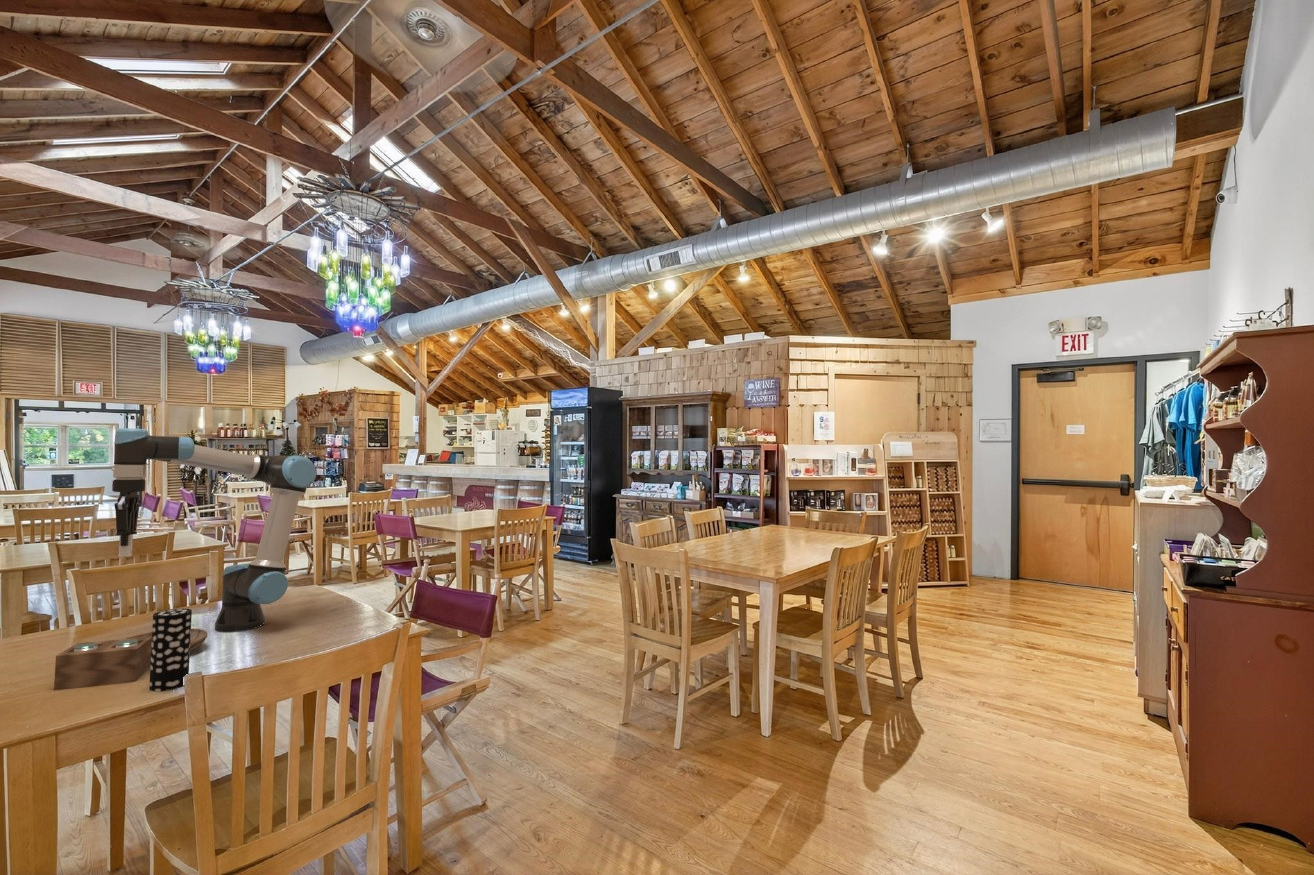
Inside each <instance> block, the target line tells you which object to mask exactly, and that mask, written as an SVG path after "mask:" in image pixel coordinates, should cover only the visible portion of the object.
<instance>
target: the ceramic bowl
mask: <svg viewBox="0 0 1314 875" xmlns="http://www.w3.org/2000/svg"><path fill="white" fill-rule="evenodd" d="M145 637H152V631H150V632H146V633H141V634H136V635H133V636H130V637H126V638H125V639H133V638H145ZM207 638H208V631H207V630H205V629H202V628H191V638H190V651H192V650H195V649H196V648H198V647H200V646H201V645H202V644H203V643H204V642H205V641H206V639H207Z"/></svg>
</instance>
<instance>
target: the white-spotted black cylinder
mask: <svg viewBox="0 0 1314 875" xmlns="http://www.w3.org/2000/svg"><path fill="white" fill-rule="evenodd" d="M192 613H193V610H192V609H191V608H172V609H166V610H160V611H157V612H155V613H153V614H152V626H151V627H152V629H151V632H152V644H151V663H150V668H149V681H148V682H149V687H148V689H149V691H151V692H165V691H173V690H177V689H179V688H182V687H184V685H183V677H184V676H185V675H186V674H189V673H190V658H191V657H190V656H191V655H190V654H191V653H190V652H191V650H190V638H191V629H192V617H193V616H192V615H193V614H192Z"/></svg>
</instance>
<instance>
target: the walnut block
mask: <svg viewBox="0 0 1314 875" xmlns="http://www.w3.org/2000/svg"><path fill="white" fill-rule="evenodd" d="M124 640H138V645H137V646H131V647H120V648H116V643H117V642H120V641H124ZM86 643H97V644H98V648H96V649H95V650H86V651H74V647H75V646H77V645H81V644H86ZM151 644H152V637H145V638H133V639H126V638H123V639H112V640H101V641H99V640H98V641H86V642H77V643H75V644H73V645H72V646H71V647H68V648H67V649H65V650H64V651H62V652H60V653H58V654H57V655H55V665H54V667H55V668H54V682H53V683H54V684H53V691H59V690H69V689H76V688H77V689H78V688H87V687H96V686H105V685H113V684H114V685H115V684H123V683H133V682H136V681H137V680H138V679H139V678H141V676H143V675H144V674H145V673H146V672H147V671H148V670H150V663H151Z"/></svg>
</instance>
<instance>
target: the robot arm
mask: <svg viewBox="0 0 1314 875" xmlns="http://www.w3.org/2000/svg"><path fill="white" fill-rule="evenodd" d="M114 436H115V437H114V442H113V444H114V445H113V446H114V448H113V449H114V453H113V467H111V471H112V474H113V475H112V477H113V478H114V479H113V480H112V487H111V491H112V492H114V493H119V496H118V498H117V502H114V505H113V506H114V509H115V524H116V526H115V527H116V533H115V536H119V539H118V540H119V542H118V543H119V544H118V557H119V558H125V557H126V558H127V557H132V556H133V543H134V542H133V540H134V535H137V533H138V531H137V527H138V519H139V513H140V506H141V503H142V501H141V499H139V497H138V495H139V494H138V492H139V493H140V492H145V491H146V480H145V479H144V478H146V477H147V460H153V461H161V462H166V463H173V464H178V465H184V466H189V467H195V468H200V469H207V470H211V471H217V472H222V473H223V472H225V473H229V474H235V475H241V476H244V477H245V478H246V479H248V480H253V481H254V480H255V481H258V482H263V483H266V484H268V485H269V484H270V485H269V490H270V491H271V492H272V497H271V500H270V503H269V507H268V511H267V515H266V519H265V523H264V526H263V530H262V533H261V538H260V542H259V544H258V545H259V546H258V547H257V552H256V556H255V559H254V560H252V561H250V562H249V563H241V564H233V565H228V566H225V567H224V569H223V575H222V595H221V609H220V611H219V613H218V615H217V618H216V621H215V622H214V631H217V632H221V633H223V632H224V633H232V632H241V631H242V632H243V631H248V630H253V628H254V629H256V628H255V627H257V628H259V627H258V626H260V625H262V624H263V623H264V622H265V621H266V618H265V614H264V612H263V609H262V605H269V604H270V605H271V604H273V603H275V602H277V601H278V600H280V599H281V598H282V597H283V596H284V595H285V593H286V592H287V590H288V587H289V580H288V578H287V576H286V574H285V573H286V570H287V566H286V564H285V563H284V559H285V555H286V551H287V547H288V543H289V540H290V539H289V538H290V535H291V532H292V529H293V528H292V527H293V524H294V520H295V516H296V512H297V508H298V505H299V501H300V498H301V497H303V496H304V495H306V491H307V489H308V487H309V486H310V485H311V484H313V483H314V481H315V480H316V478H317V468H316V466H315V464H314V462H313V461H312V460H311V459H309V458H307V457H305V456H300V455H294V454H293V455H264V454H259V453H254V454H251V455H249V454H243V453H238V452H234V451H229V450H224V449H218V448H213V447H209V446H203V445H197V444H195V443H194V440H193V438H191V437H187V436H180V435H179V436H174V435H173V436H170V435H166V436H165V435H164V436H162V435H149V430H148V429H147V428H129V427H128V428H126V427H122V428H121V427H120V428H118V429H117V430H115V435H114ZM265 623H266V622H265ZM265 623H264V624H265ZM262 626H263V625H262ZM260 627H261V626H260Z"/></svg>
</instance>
